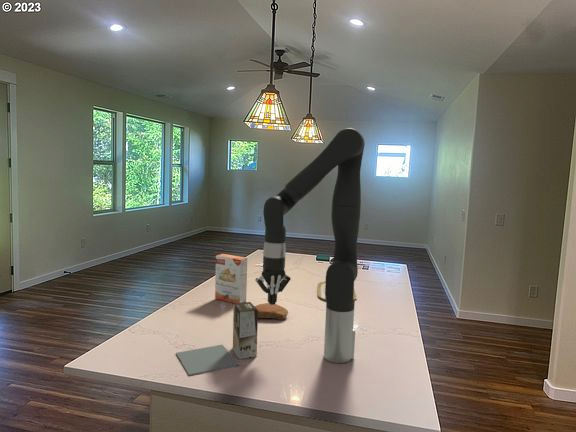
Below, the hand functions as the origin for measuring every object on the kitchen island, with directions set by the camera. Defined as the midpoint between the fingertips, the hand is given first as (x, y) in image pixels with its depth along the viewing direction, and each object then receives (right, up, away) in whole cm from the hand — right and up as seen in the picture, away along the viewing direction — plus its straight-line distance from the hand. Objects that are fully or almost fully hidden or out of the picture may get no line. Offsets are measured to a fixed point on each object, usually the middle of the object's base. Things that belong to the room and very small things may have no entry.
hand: (272, 303), depth 145 cm
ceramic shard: (-3, -12, +32) cm, 34 cm away
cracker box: (-21, -9, +50) cm, 56 cm away
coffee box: (-9, -16, -3) cm, 19 cm away
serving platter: (+30, -9, +69) cm, 76 cm away
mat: (-21, -16, -9) cm, 28 cm away
